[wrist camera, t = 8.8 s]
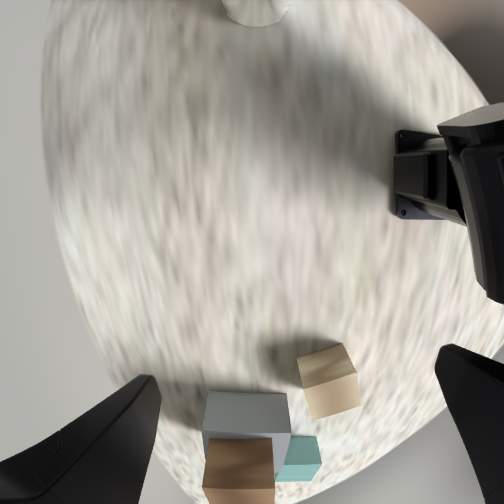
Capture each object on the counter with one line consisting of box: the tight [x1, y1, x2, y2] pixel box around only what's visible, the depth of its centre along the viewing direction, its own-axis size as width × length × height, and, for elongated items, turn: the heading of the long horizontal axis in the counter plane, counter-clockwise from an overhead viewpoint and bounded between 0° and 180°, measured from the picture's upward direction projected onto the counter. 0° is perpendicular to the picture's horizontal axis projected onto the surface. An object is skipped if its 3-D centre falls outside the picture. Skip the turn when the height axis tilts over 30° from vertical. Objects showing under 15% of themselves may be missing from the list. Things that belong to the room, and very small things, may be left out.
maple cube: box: [297, 343, 361, 420], centre depth 21 cm, size 4×4×4 cm
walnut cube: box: [202, 438, 275, 504], centre depth 17 cm, size 5×5×5 cm
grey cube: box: [202, 391, 292, 473], centre depth 22 cm, size 7×7×5 cm
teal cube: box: [274, 437, 322, 482], centre depth 24 cm, size 4×4×4 cm
